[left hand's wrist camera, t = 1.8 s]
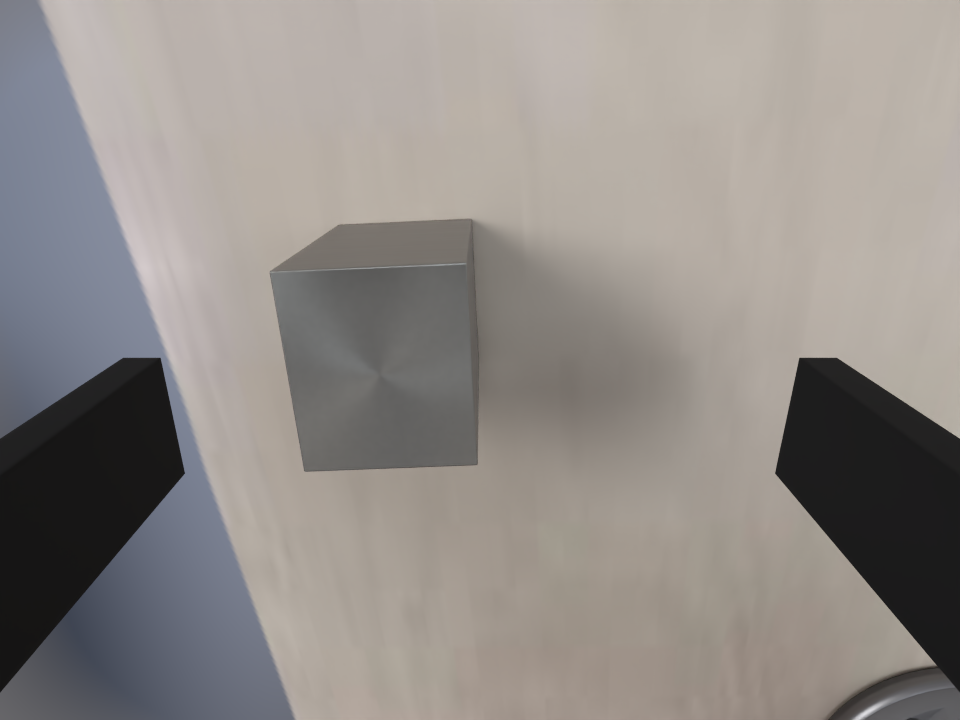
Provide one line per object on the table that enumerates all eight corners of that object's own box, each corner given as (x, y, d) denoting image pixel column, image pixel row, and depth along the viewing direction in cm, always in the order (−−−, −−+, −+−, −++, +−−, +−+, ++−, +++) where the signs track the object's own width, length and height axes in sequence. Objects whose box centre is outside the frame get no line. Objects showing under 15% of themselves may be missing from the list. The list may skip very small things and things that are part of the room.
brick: (479, 365, 32) (477, 465, 22) (356, 370, 32) (304, 472, 23) (471, 218, 29) (466, 262, 20) (337, 224, 29) (268, 271, 20)
